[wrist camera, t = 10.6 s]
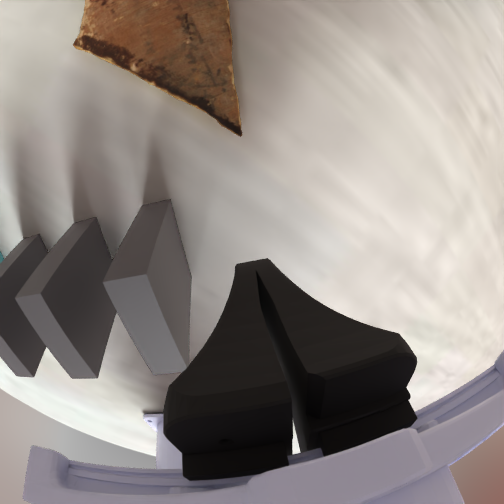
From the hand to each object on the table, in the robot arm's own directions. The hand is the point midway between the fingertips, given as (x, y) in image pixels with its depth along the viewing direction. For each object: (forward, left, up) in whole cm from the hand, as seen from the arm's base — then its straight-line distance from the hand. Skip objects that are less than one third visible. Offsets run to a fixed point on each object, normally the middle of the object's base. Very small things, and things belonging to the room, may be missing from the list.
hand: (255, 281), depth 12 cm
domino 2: (0, +9, -5) cm, 10 cm away
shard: (+12, +1, -6) cm, 13 cm away
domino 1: (0, +13, -5) cm, 14 cm away
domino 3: (0, +4, -5) cm, 6 cm away
